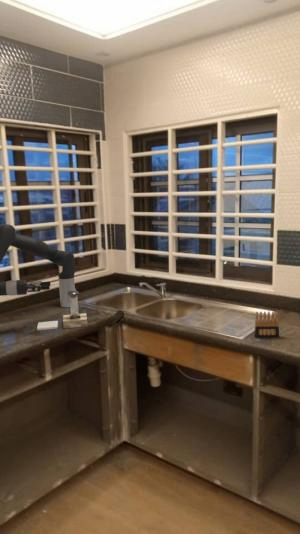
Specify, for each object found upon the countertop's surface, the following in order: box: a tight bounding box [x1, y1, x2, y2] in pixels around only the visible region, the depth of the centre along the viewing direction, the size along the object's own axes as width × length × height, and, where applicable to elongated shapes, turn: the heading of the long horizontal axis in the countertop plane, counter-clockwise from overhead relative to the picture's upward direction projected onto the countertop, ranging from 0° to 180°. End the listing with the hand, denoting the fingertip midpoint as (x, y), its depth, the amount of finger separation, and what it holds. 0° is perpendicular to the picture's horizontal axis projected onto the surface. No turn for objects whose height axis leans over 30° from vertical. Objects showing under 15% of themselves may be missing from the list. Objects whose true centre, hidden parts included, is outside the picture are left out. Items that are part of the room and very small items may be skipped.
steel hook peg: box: [67, 290, 80, 319], centre depth 213 cm, size 6×6×17 cm
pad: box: [36, 320, 59, 331], centre depth 212 cm, size 10×10×1 cm
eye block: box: [62, 312, 89, 329], centre depth 214 cm, size 12×12×4 cm
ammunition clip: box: [253, 311, 280, 339], centre depth 184 cm, size 11×2×12 cm, turn 86°
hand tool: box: [107, 309, 125, 328], centre depth 214 cm, size 19×4×5 cm, turn 163°
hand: (50, 285), depth 208 cm, fingers open, 8 cm apart
